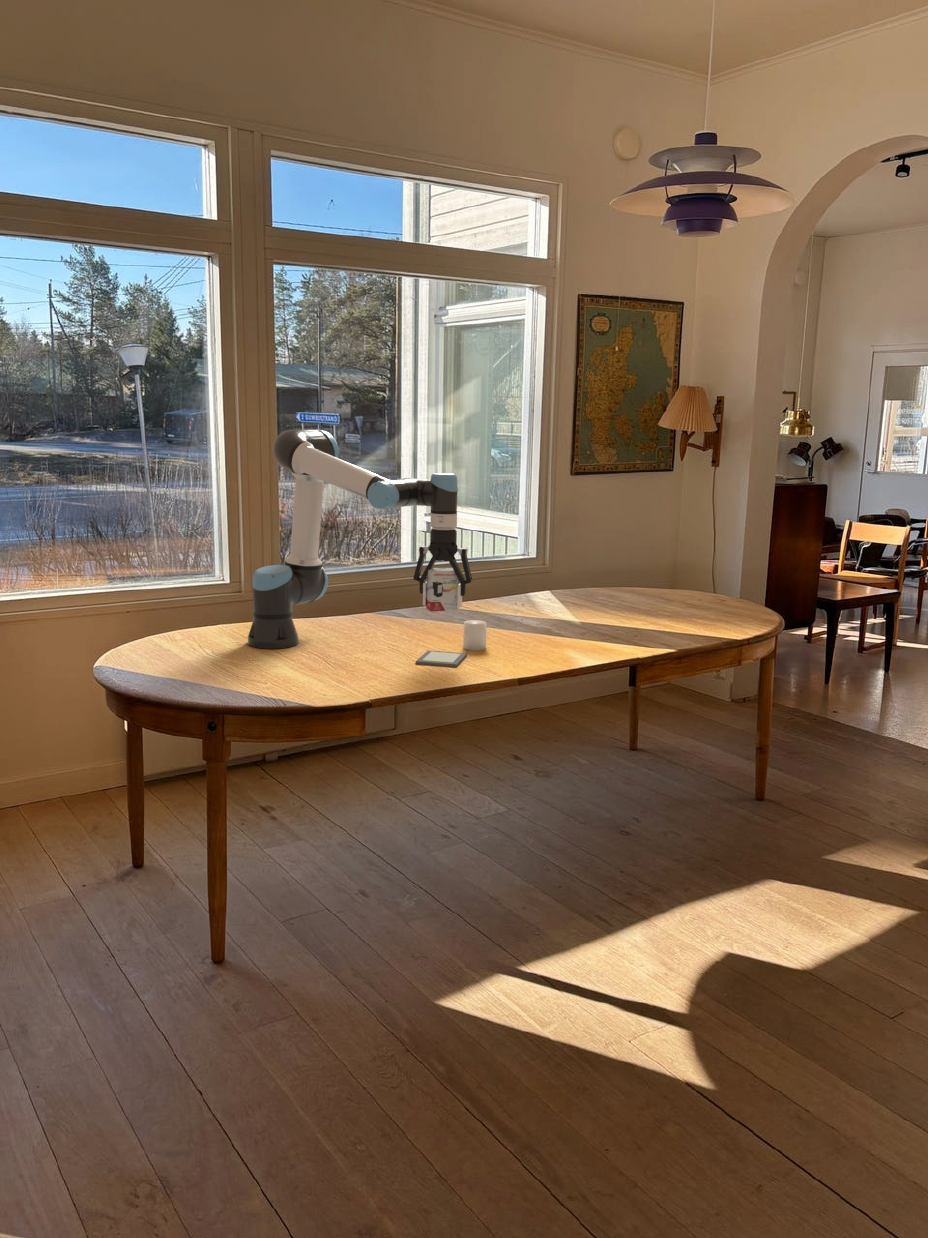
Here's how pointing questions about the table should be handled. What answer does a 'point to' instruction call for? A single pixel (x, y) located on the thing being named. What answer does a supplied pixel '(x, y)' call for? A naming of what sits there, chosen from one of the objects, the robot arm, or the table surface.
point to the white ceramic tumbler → (474, 635)
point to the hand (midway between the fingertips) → (442, 605)
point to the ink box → (442, 590)
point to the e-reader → (441, 658)
